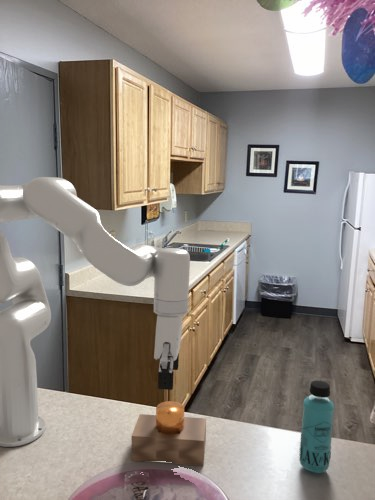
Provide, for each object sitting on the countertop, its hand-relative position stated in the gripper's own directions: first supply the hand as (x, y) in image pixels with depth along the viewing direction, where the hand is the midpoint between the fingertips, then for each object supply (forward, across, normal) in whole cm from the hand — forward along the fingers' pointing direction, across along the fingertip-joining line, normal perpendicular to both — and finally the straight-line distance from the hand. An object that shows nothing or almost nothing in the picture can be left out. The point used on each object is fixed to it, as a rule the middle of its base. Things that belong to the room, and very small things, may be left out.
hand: (168, 378), depth 96 cm
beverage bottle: (+17, +3, +33) cm, 37 cm away
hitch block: (+18, 0, +1) cm, 18 cm away
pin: (+17, 0, +1) cm, 17 cm away
